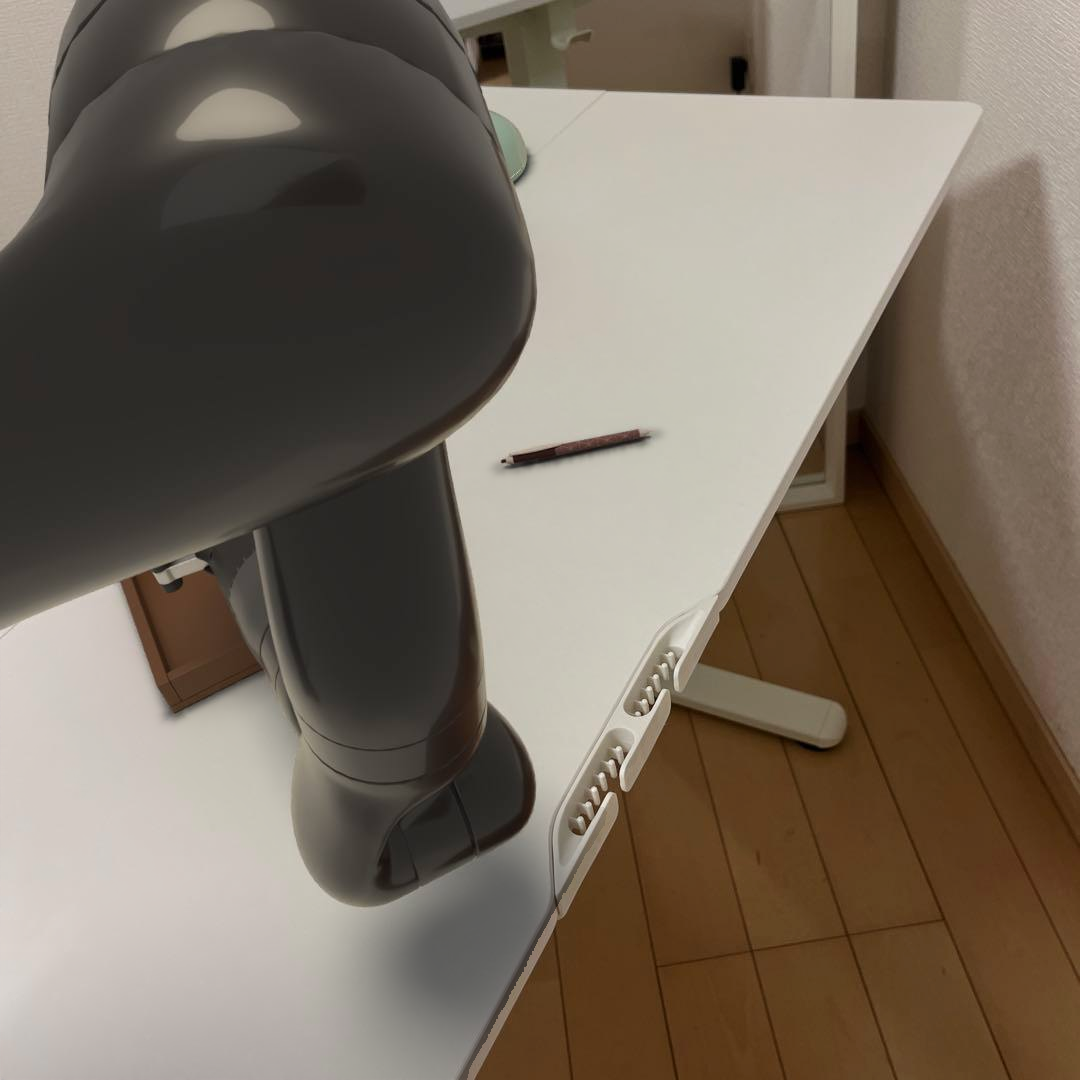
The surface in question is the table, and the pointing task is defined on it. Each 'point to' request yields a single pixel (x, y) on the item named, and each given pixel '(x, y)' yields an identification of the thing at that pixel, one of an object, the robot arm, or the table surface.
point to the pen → (571, 446)
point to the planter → (510, 144)
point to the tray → (188, 637)
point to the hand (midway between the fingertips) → (222, 449)
